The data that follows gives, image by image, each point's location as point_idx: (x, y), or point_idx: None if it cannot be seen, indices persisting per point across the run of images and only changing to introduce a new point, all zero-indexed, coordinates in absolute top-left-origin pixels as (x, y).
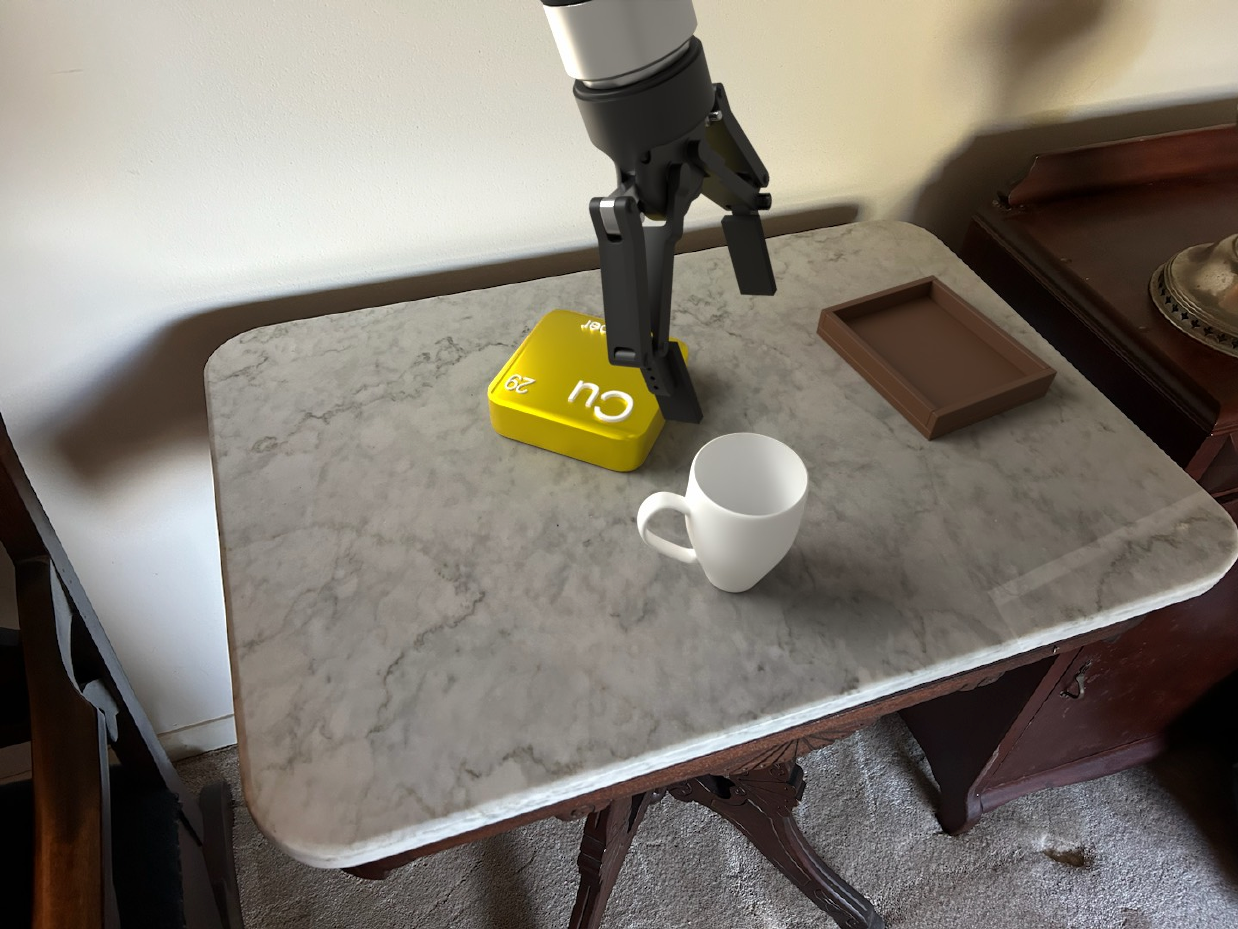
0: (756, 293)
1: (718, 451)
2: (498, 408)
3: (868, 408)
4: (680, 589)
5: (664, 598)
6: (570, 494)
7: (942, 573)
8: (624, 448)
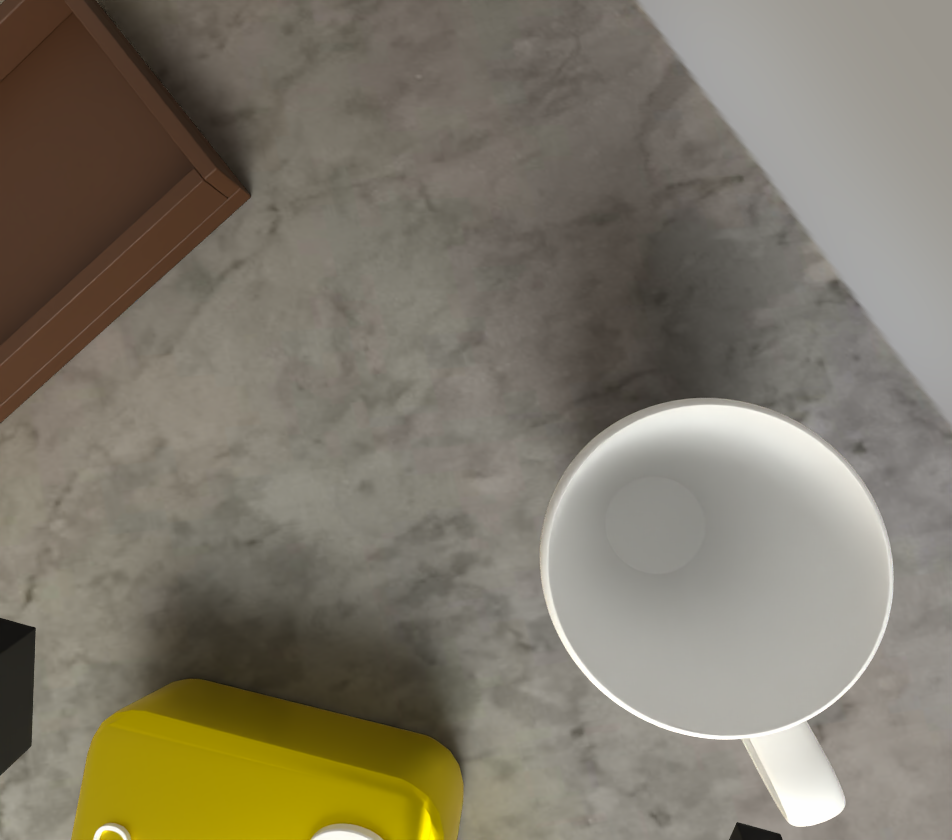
0: (26, 694)
1: (589, 651)
2: None
3: (189, 309)
4: None
5: None
6: None
7: (561, 157)
8: (448, 810)
